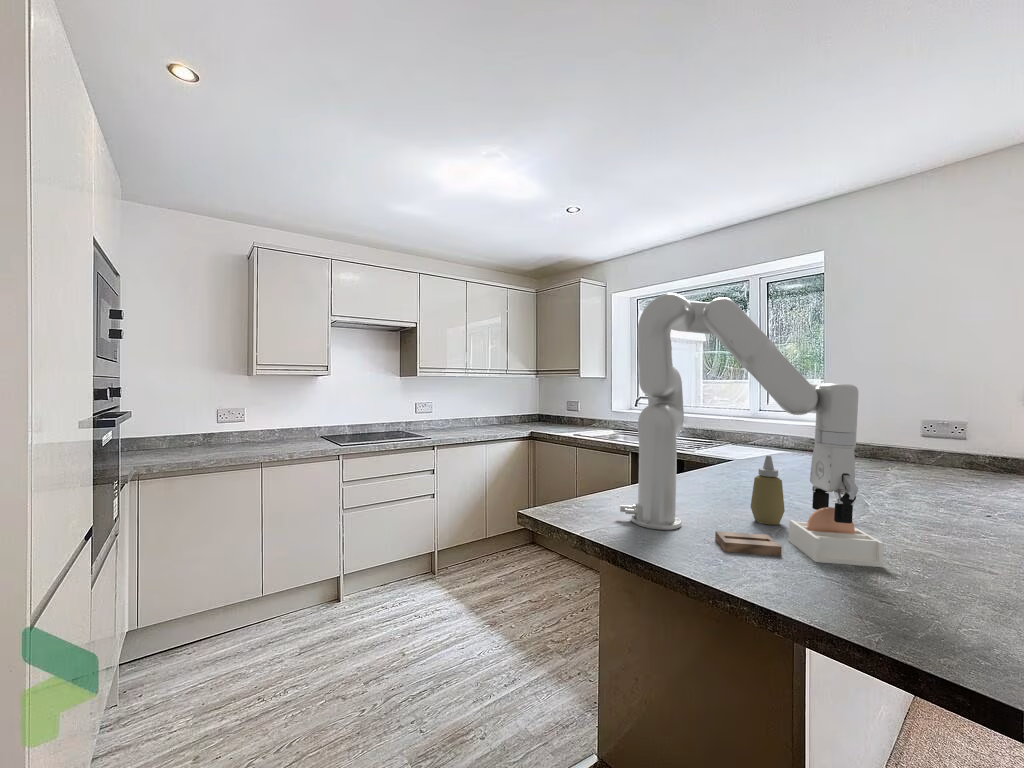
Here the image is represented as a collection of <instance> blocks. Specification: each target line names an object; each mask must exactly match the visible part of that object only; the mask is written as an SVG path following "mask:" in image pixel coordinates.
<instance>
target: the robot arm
mask: <svg viewBox="0 0 1024 768" xmlns="http://www.w3.org/2000/svg"><path fill="white" fill-rule="evenodd" d="M672 330H673V331H676V332H682V333H683V332H685V333H694V334H705V335H714V337H715V338H716V339H717V340H718V341H719V342H720V343H721V344H722V345H723V347H725V349H726V350H727V351H728V352H729V353H730V354H731V355H732V357H734V359H735V360H736V361H737V362H738V364H739V365H741V367H742V369H744V370H746V371H747V372H748V373H749V374H751V376H752V377H753V378H754V379H755V380H756V381H757V382H758V383H759V384H760V386H761V387H762V388H763V389H764V390H765V391H766V392H767V393H768V394H769V396H770V397H771V398H772V399H773V400H774V401H775V402H776V404H778V405H779V407H780V408H781V409H782V410H783V411H784V412H785V413H788V414H791V415H793V416H803V415H806V414H809V413H811V414H813V413H815V430H814V446H813V451H812V456H811V457H812V458H811V465H810V472H809V473H810V475H809V481H810V484H811V485H812V489H811V490H812V505H811V506H812V510H815V511H816V510H818V509H820V508H824V507H830V505H829V503H830V493H834V496H835V500H836V502H835V503H834V508H835V513H834V521H835V522H838V523H852V521H853V510H854V505H855V501H856V499H857V494H858V492H859V487H858V485H857V484H856V458H855V449H856V446H857V434H858V433H857V430H858V413H859V412H858V411H859V389H858V387H857V385H853V384H848V383H847V384H846V383H822V384H819V383H818V384H817V383H810V382H809V381H808V380H807V379H806V378H805V376H803V375H802V373H800V371H799V370H797V368H796V367H795V365H793V364H792V363H791V362H790V361H789V360H788V359H787V358H786V357H785V355H784V354H783V353H782V352H781V351H780V350H779V349H778V347H777V346H776V344H775V343H774V342H773V341H772V340H771V339H770V338H769V337H768V336H767V334H766V333H765V332H764V331H763V330H762V329H761V328H760V327H759V326H758V325H757V324H756V323H755V322H754V321H753V320H752V319H751V318H750V317H749V316H748V314H747V313H746V312H745V311H744V310H743V309H742V308H741V307H740V306H739V304H737V302H735V301H734V300H732V299H730V298H729V297H722V296H721V297H717V298H714V299H712V300H710V301H709V302H703V301H694V300H691V301H690V300H688V299H687V298H685V297H684V296H682V295H681V294H677V293H673V292H671V293H670V292H669V293H665V294H661V295H659V296H657V297H656V298H654V299H652V301H650V302H649V303H648V304H647V305H646V306H645V307H644V309H643V311H642V312H641V314H640V317H639V321H638V327H637V348H638V350H637V351H638V355H637V357H638V358H637V359H638V381H639V384H638V385H639V387H640V389H641V391H642V393H643V394H645V395H646V396H647V400H648V403H647V404H648V405H646V407H644V408H643V409H642V411H640V413H639V416H638V418H637V419H638V420H637V435H638V491H637V492H638V494H637V496H638V497H637V501H635V504H631V505H627V504H620V505H619V512H620V513H625V514H626V515H631V521H632V523H634V524H635V525H637V526H639V527H642V528H646V529H652V530H659V531H663V530H664V531H665V530H666V531H669V530H677V529H678V528H679V529H680V528H681V527H682V520H681V519H680V518H679V517H677V516H676V509H677V508H676V507H677V505H676V504H677V503H676V499H677V472H678V471H677V467H678V466H677V460H678V458H677V457H678V455H677V453H678V452H677V449H678V448H677V447H678V445H677V433H679V431H680V430H681V429H682V427H683V425H684V420H685V419H684V418H685V414H684V413H685V412H684V398H683V397H684V396H683V381H682V377H681V374H680V372H679V371H678V369H677V368H676V367H675V366H674V365H673V353H672V352H673V349H672V348H673V347H672V341H671V333H672V332H671V331H672Z"/></svg>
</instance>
